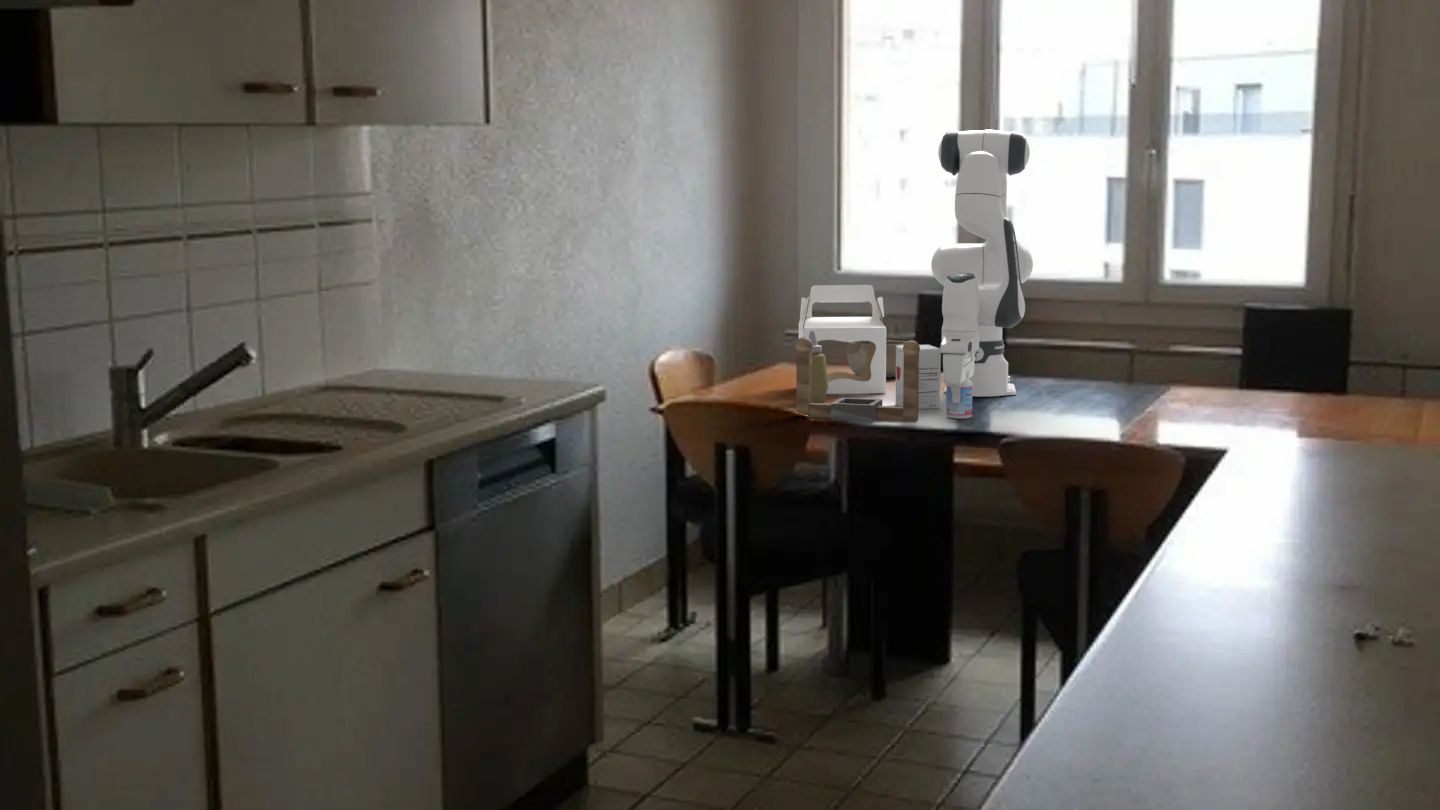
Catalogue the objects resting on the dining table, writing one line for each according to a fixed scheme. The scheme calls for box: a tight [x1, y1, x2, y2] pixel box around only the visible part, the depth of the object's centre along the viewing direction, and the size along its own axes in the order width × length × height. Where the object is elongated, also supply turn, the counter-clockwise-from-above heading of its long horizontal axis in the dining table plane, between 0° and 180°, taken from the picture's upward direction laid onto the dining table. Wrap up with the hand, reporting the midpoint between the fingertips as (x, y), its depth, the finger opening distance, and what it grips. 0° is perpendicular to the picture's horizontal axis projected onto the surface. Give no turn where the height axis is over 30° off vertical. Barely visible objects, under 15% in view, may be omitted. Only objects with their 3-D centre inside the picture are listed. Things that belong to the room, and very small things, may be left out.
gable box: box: [798, 284, 887, 395], centre depth 448 cm, size 22×13×28 cm, turn 92°
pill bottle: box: [945, 370, 973, 420], centre depth 404 cm, size 6×6×11 cm
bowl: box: [846, 339, 907, 378], centre depth 476 cm, size 17×18×10 cm
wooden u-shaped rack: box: [795, 337, 920, 423], centre depth 403 cm, size 10×30×19 cm, turn 72°
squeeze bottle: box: [809, 331, 828, 403], centre depth 429 cm, size 8×8×18 cm
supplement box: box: [895, 344, 942, 410], centre depth 420 cm, size 9×9×15 cm
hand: (959, 400), depth 404 cm, fingers closed on pill bottle, 6 cm apart
